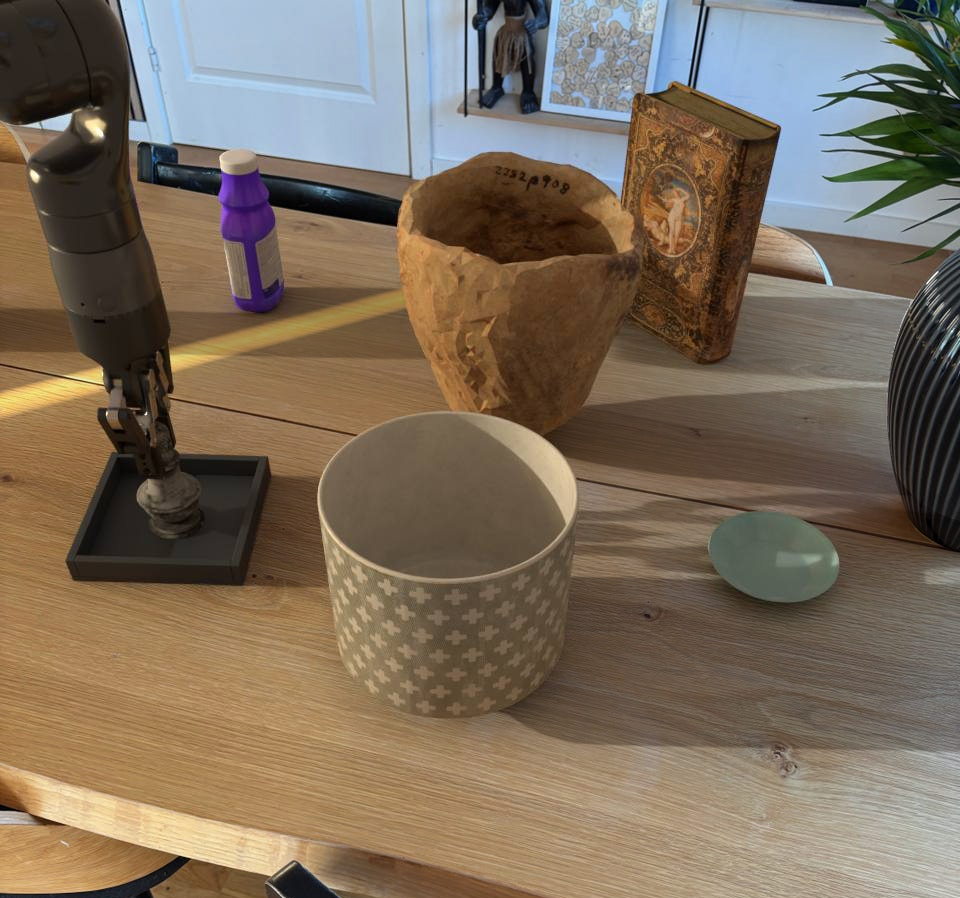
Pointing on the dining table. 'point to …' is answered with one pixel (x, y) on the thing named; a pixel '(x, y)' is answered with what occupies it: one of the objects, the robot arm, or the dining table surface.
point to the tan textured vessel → (517, 283)
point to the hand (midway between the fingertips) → (158, 461)
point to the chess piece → (171, 494)
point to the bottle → (249, 233)
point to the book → (695, 213)
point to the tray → (190, 560)
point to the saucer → (773, 556)
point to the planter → (449, 560)
